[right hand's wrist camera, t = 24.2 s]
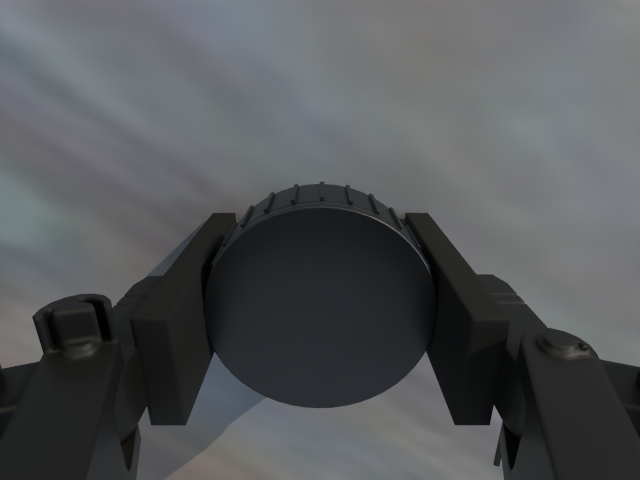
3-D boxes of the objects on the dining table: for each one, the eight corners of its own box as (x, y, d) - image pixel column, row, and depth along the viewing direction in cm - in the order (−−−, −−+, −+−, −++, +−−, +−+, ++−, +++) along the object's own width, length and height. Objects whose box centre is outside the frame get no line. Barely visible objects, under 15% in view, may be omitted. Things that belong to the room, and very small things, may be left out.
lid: (210, 178, 11) (186, 201, 9) (433, 182, 11) (457, 204, 9) (226, 360, 13) (210, 409, 11) (410, 362, 13) (426, 411, 11)
